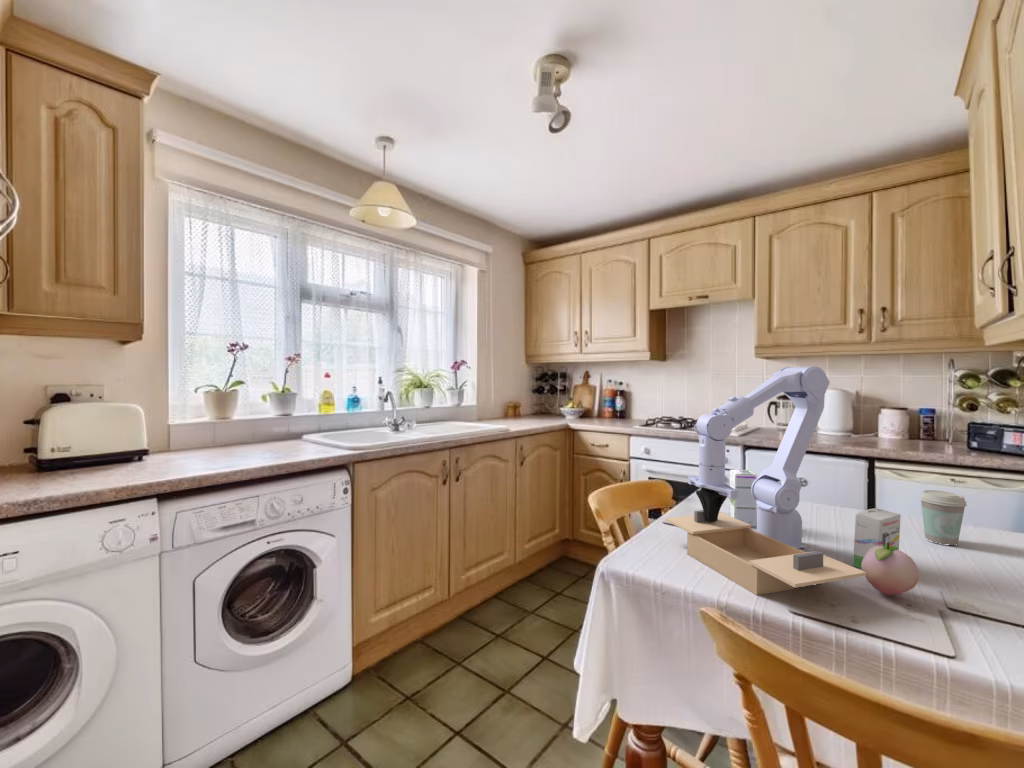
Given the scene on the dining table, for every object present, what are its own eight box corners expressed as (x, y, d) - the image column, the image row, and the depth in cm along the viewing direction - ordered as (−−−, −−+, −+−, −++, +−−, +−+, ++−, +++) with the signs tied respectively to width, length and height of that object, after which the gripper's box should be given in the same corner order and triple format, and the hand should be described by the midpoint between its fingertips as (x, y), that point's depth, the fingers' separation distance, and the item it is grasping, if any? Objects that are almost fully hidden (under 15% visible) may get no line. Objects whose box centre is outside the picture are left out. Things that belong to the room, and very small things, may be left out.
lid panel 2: (814, 554, 91) (815, 539, 91) (866, 575, 82) (866, 558, 82) (748, 563, 87) (749, 547, 86) (795, 587, 77) (795, 569, 77)
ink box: (872, 558, 102) (873, 506, 102) (900, 567, 98) (901, 513, 97) (851, 566, 98) (852, 512, 98) (879, 575, 94) (881, 519, 93)
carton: (743, 546, 109) (743, 526, 109) (821, 584, 90) (822, 559, 89) (687, 554, 104) (687, 532, 104) (756, 595, 85) (757, 569, 85)
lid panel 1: (720, 514, 116) (720, 502, 116) (751, 527, 107) (751, 514, 107) (665, 520, 112) (665, 508, 112) (692, 534, 102) (692, 520, 102)
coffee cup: (927, 545, 110) (929, 496, 110) (912, 533, 118) (913, 488, 118) (973, 550, 107) (975, 500, 106) (954, 538, 115) (955, 491, 114)
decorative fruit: (917, 613, 79) (919, 556, 79) (858, 597, 85) (860, 544, 84) (918, 594, 86) (920, 541, 86) (864, 580, 91) (865, 531, 91)
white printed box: (757, 527, 122) (758, 474, 122) (734, 525, 124) (734, 473, 123) (750, 520, 128) (751, 469, 128) (728, 519, 129) (729, 468, 129)
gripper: (678, 459, 113) (677, 513, 114) (720, 471, 100) (719, 533, 100) (701, 458, 115) (701, 510, 116) (746, 470, 102) (745, 529, 102)
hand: (711, 521), depth 108 cm, fingers closed
